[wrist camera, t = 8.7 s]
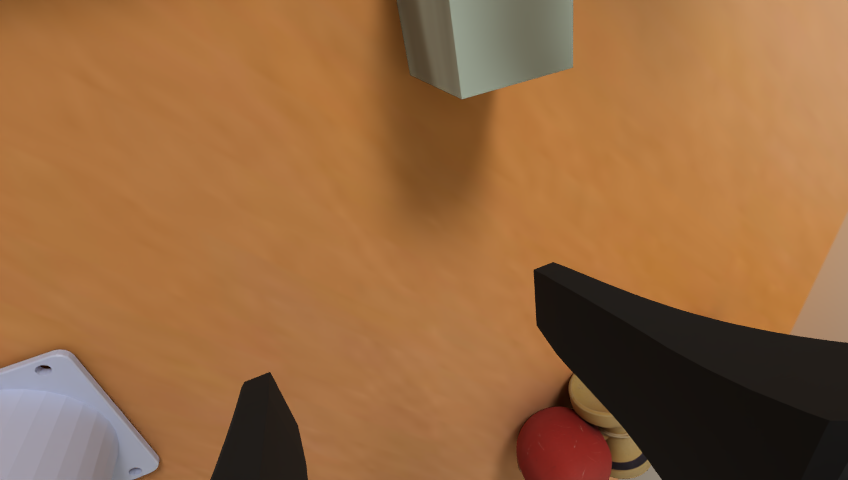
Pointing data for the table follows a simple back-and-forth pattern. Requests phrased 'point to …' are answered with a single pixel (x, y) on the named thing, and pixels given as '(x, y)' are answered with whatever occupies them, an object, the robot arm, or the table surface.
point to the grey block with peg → (485, 42)
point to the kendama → (577, 442)
